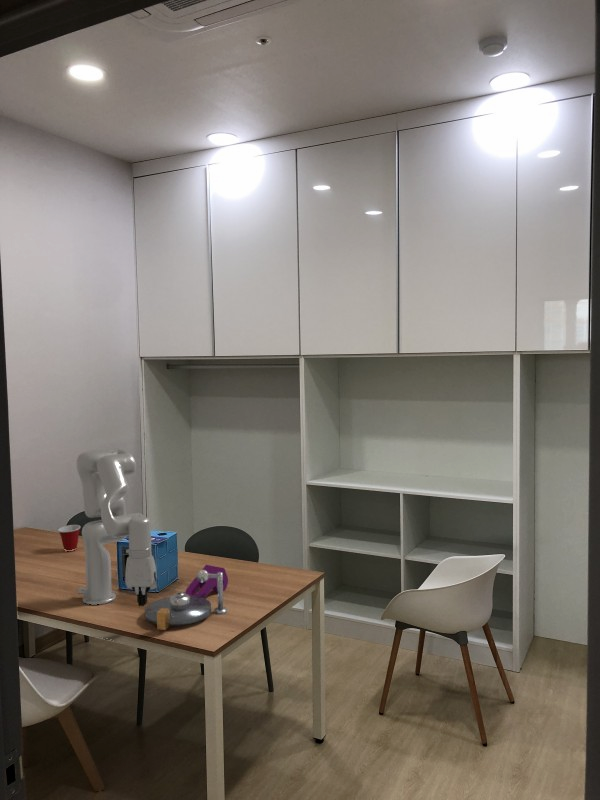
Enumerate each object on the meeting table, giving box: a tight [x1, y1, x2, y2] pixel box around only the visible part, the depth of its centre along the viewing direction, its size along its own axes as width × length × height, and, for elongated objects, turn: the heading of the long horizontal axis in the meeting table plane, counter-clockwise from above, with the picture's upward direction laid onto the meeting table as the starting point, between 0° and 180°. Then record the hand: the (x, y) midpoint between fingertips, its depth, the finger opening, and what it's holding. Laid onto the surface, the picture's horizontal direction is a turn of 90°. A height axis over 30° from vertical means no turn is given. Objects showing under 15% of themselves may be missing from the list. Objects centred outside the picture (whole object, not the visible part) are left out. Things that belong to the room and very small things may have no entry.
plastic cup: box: [57, 524, 81, 550], centre depth 324 cm, size 11×11×12 cm
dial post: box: [195, 569, 228, 615], centre depth 242 cm, size 11×5×16 cm, turn 79°
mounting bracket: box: [185, 564, 229, 599], centre depth 261 cm, size 9×8×18 cm
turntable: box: [144, 596, 212, 631], centre depth 236 cm, size 24×28×6 cm
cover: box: [169, 591, 190, 611], centre depth 237 cm, size 7×7×5 cm
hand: (142, 604), depth 225 cm, fingers closed
